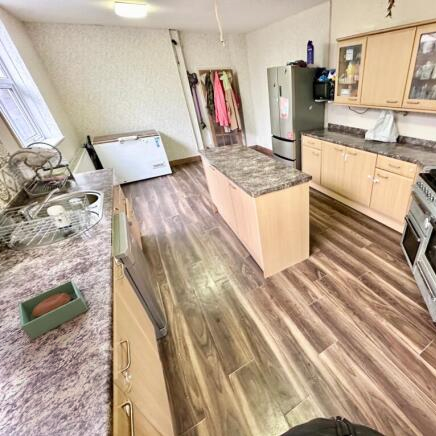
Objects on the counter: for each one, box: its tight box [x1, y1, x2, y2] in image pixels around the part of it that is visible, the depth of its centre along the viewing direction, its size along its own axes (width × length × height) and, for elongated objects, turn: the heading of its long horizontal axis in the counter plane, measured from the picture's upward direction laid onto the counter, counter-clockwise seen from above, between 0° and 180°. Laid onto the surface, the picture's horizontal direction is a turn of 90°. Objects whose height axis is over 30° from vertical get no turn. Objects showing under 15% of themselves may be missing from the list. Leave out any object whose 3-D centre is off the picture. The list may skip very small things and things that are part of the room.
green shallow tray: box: [18, 279, 89, 340], centre depth 75 cm, size 14×14×6 cm
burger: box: [32, 293, 75, 319], centre depth 75 cm, size 10×9×5 cm
